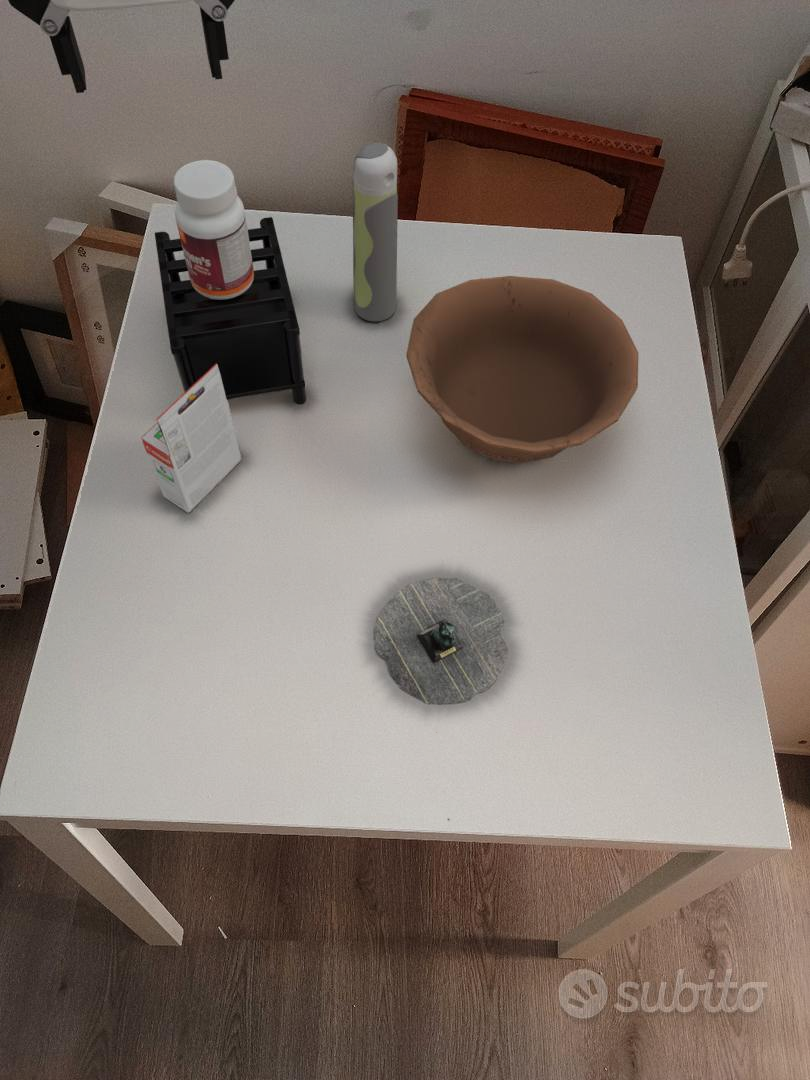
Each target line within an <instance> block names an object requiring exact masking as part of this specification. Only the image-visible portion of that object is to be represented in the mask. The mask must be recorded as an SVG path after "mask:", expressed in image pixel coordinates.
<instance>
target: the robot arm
mask: <svg viewBox="0 0 810 1080" xmlns="http://www.w3.org/2000/svg"><path fill="white" fill-rule="evenodd" d="M190 1H193V2H194V3H195V4H196V5H197V6H198V7H199V11H200V12H199V13H200V17H201V24H202V30H203V37H204V44H205V49H206V55H207V60H208V65H209V69H210V73H211V74H210V75H211V77H212V79H213V78H214V79H215V80H223V73H222V66H221V61H229V60H230V58H229V50H228V43H227V37H226V30H225V29H226V28H225V21H224V20H226V18H227V16H228V11H229V9H230V8H231V6H232V5H233V3H234V2H235V1H236V0H8V3H9V4H10V6H11V7H12V8H13V9H15V10H16V11H18V12H19V13H20V14H22V15H24V16H25V17H26V18H27V19H29V20H31V21H32V22H34V23H35V24H36V25H38V26H40V29H41V31H42V32H43V33H44V34H45V35H46V36H49V39H50V43H51V46H52V49H53V52H54V54H55V59H56V62H57V64H58V68H59V71H60V74H61V76H70V78H71V81H72V83H73V87H74V90H75V93H76V94H82V93H85V91H87V80H86V70H85V69H86V68H85V65H84V61H83V57H82V54H81V50H80V48H79V44H78V41H77V38H76V35H75V31H74V28H73V24H72V21H71V18H70V15H69V14H70V11H73V12H92V11H106V10H107V11H108V10H119V9H130V8H131V9H132V8H145V7H156V6H165V5H166V6H167V5H176V4H181V3H182V4H183V3H187V2H190Z"/></svg>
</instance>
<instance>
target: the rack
mask: <svg viewBox="0 0 810 1080" xmlns="http://www.w3.org/2000/svg"><path fill="white" fill-rule="evenodd" d="M259 226H260V227H257V228H256V227H255V228H249V229H248V228H247V229H248V236H249V242H251V243H252V242H259V241H261V243H262V247H261V248H254V249H251V255H252V262H253V263H256V262H264V263H265V268H263V269H254V270H253V271H254V278H253V282H252V284H251V286H250V287H249V288H248V289H247V290H246V291H245V292H244V293H242V294H241V295H239V296H236V297H234V298H230V299H224V300H216V299H210V298H207V297H205V296H203V295H201V294H200V293H198V292H197V291H196V290H195V288H194V287H193V285H192V283H191V280H190V279H185V280H182V279H181V276H180V273H185V272H188V268H187V265H186V261H185V258H181V259H176V257H175V253H176V252H183V248H182V244H181V240H180V238H175V239H171V237H170V234H169V232H166V231H157V232H154V240H155V245H156V253H157V262H158V269H159V275H160V282H161V283H160V284H161V290H162V297H163V304H164V311H165V320H166V325H167V334H168V341H169V348H170V352H171V354H172V357H173V359H174V362H175V366H176V369H177V373H178V375H179V379H180V383H181V385H182V388H183V392H184V393H185V392H186V391H187V390H188V389H189V388H190V387H192V386H193V385H194V384H195V383H196V382H197V381H198V380H199V379H200V378H201V377H202V376H203V375H204V374H206V373H207V372H208V371H209V370H210V369H211V368H212V367H213V366H214V365H215V364H217V365H218V368H219V372H220V375H221V379H222V383H223V387H224V391H225V395H226V399H227V400H233V399H241V398H247V397H251V396H252V397H253V396H257V395H264V394H270V393H275V392H283V391H289V390H291V393H292V401H293V403H294V404H295V405H297V406H301V405H304V404H305V403H307V392H306V385H307V384H306V380H305V373H304V363H303V353H302V346H301V337H300V336H301V331H300V326H299V322H298V318H297V317H298V316H297V314H296V309H295V304H294V301H293V296H292V292H291V288H290V285H289V281H288V280H289V279H288V276H287V271H286V268H285V264H284V259H283V255H282V251H281V247H280V244H279V243H280V242H279V239H278V235H277V231H276V227H275V223H274V218H273V217H272V216H269V217H263V218H261V219H260V221H259Z"/></svg>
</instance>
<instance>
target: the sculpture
mask: <svg viewBox="0 0 810 1080" xmlns="http://www.w3.org/2000/svg"><path fill="white" fill-rule="evenodd" d="M504 624H505V620H504V617H503V614H502V611H501V610H500V609H499V607H498V605H497V604H496V601H494V600H493V599H492V597H491V595H490V594H488V593H486V592H485V591H482V590H481V589H479V588H477V587H474V586H473V585H471V584H469V583H467V582H466V581H463V580H461V579H459V578H457V577H452V578H451V577H449V578H445V577H444V578H443V577H433V578H430V579H426V580H418V581H415V582H412V583H410V584H408V585H407V586H404V588H403V587H402V588H401V589H400V590H399V591H398V592H396V593H395V594H394V595H393V597H392V598H391V599H389V601H388V602H387V603H386V604H385V606H384V607H383V609H382V610H381V611H380V614H379V616H378V617H377V621H376V623H375V625H374V638H375V639H374V641H375V651H376V653H378V656H379V658H382V659H384V660H386V662H387V667H388V671H389V674H390V676H391V677H392V679H393V680H394V682H395V683H396V684H397V685H398V686H399V689H400V690H402V691H404V692H405V693H407V694H409V695H411V696H413V697H415V698H417V699H418V700H420V701H422V702H423V703H425V704H427V705H431V704H433V705H434V704H436V705H451V704H460V703H463V702H467V701H469V700H471V699H472V698H473V697H474V696H475V695H476V694H478V693H484V692H485V691H486V690H488V689H490V688H491V686H492V685H493V684H494V683H495V682H496V680H497V677H498V675H499V673H501V671H502V669H503V668H504V666H505V664H506V662H507V658H508V654H509V653H508V651H509V650H508V647H507V645H506V643H505V641H504V639H503V637H502V635H501V632H500V631H501V630H502V628H503V627H504Z"/></svg>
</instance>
